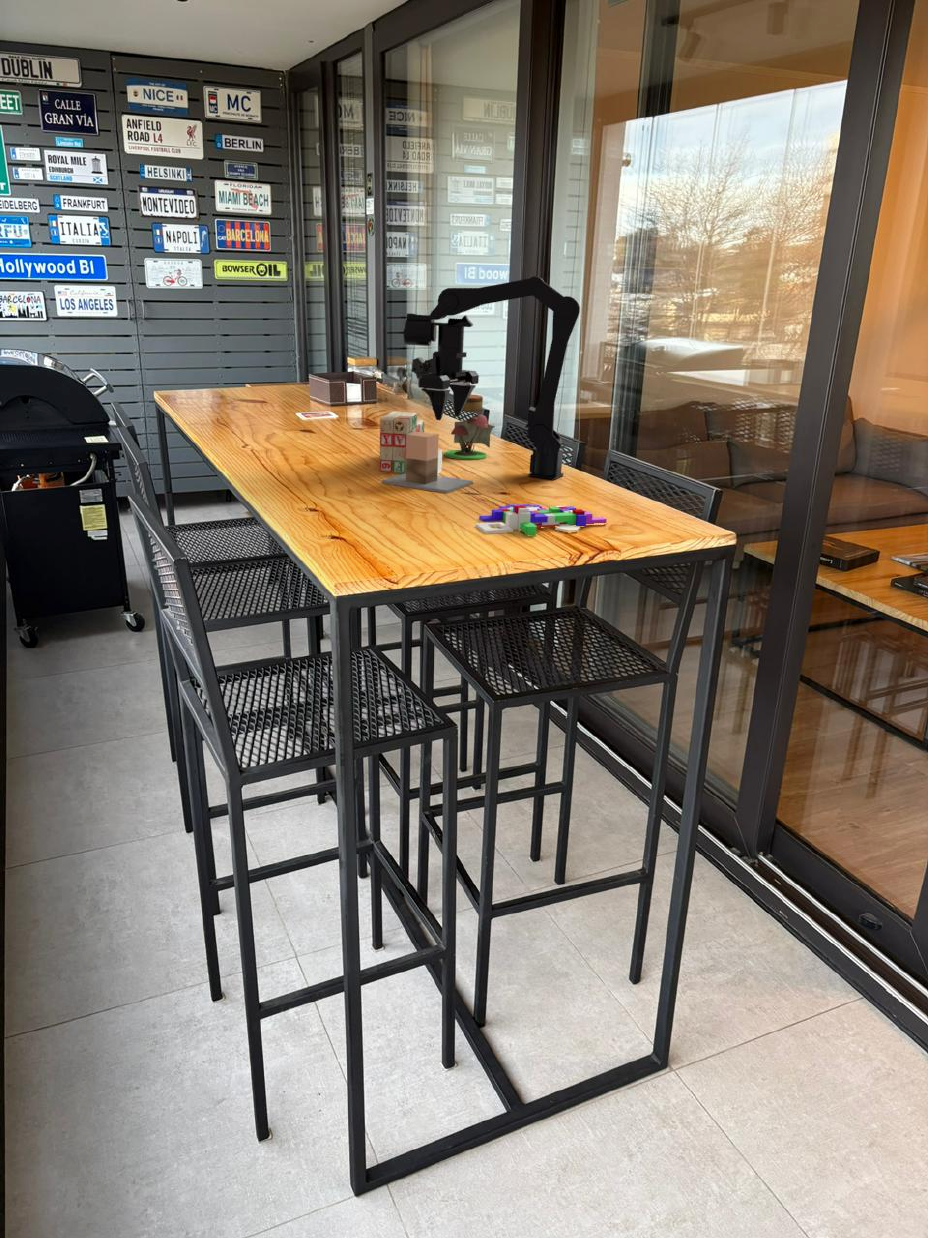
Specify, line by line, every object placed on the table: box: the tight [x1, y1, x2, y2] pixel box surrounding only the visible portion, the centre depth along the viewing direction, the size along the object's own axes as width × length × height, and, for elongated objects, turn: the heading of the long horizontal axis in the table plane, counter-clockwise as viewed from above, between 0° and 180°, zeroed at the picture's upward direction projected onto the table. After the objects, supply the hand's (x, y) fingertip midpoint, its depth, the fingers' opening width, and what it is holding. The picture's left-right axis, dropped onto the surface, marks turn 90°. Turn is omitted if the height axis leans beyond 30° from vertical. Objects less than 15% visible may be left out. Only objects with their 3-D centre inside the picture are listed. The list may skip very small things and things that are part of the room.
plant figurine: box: [444, 393, 495, 460], centre depth 227 cm, size 12×13×15 cm
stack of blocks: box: [379, 411, 425, 474], centre depth 214 cm, size 21×6×12 cm, turn 171°
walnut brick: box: [406, 458, 438, 484], centre depth 195 cm, size 5×5×5 cm
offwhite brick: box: [437, 449, 443, 475], centre depth 208 cm, size 5×5×5 cm
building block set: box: [475, 503, 608, 536], centre depth 170 cm, size 25×20×4 cm
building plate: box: [381, 473, 474, 494], centre depth 197 cm, size 16×12×1 cm
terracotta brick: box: [406, 431, 440, 461], centre depth 194 cm, size 5×5×5 cm
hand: (447, 417), depth 208 cm, fingers open, 9 cm apart
